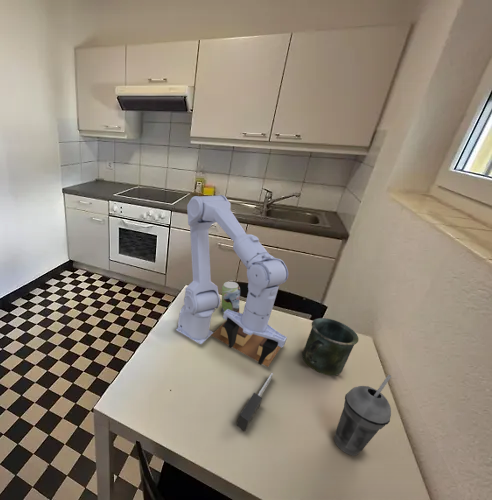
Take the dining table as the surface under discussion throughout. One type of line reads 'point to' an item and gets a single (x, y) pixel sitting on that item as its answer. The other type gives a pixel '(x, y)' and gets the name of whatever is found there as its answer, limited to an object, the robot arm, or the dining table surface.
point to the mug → (329, 346)
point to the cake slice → (261, 349)
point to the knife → (251, 407)
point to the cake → (241, 336)
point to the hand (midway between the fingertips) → (245, 353)
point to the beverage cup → (362, 418)
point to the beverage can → (230, 296)
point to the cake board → (247, 346)
